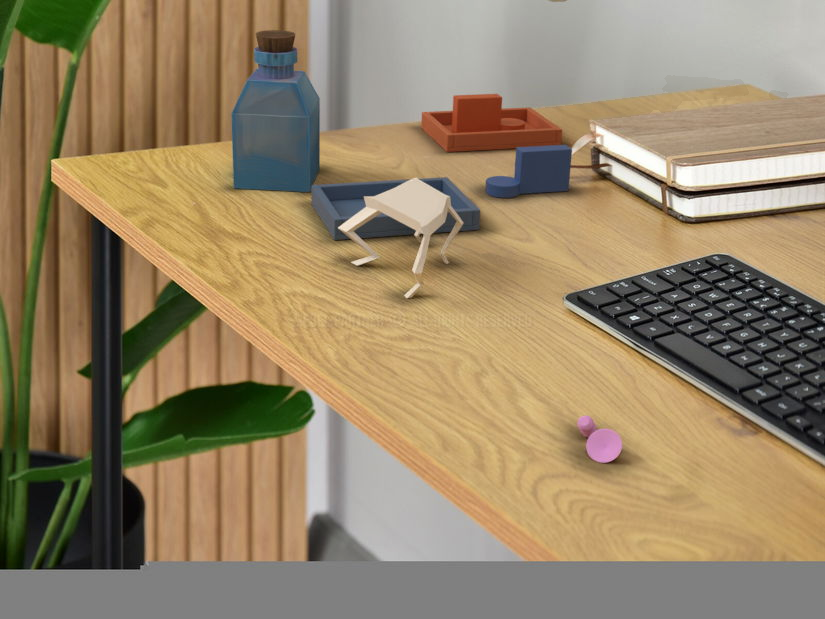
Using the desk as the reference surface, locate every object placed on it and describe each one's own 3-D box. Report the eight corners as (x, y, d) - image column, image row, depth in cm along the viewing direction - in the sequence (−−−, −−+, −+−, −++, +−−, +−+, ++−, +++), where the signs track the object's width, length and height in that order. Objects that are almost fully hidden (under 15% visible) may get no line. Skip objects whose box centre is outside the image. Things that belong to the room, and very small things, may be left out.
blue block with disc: (558, 183, 102) (562, 142, 100) (572, 193, 99) (575, 151, 98) (480, 188, 100) (483, 146, 98) (492, 198, 97) (494, 156, 96)
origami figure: (326, 246, 86) (326, 180, 84) (436, 236, 89) (439, 172, 87) (374, 312, 76) (376, 239, 74) (497, 299, 79) (502, 228, 77)
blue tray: (446, 195, 98) (447, 176, 97) (479, 230, 91) (480, 209, 90) (311, 204, 95) (311, 184, 94) (334, 240, 88) (334, 219, 87)
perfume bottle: (319, 169, 103) (319, 28, 98) (309, 192, 97) (308, 43, 93) (248, 165, 103) (244, 25, 99) (233, 188, 98) (229, 39, 93)
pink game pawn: (606, 479, 62) (634, 458, 62) (600, 469, 60) (629, 447, 60) (571, 436, 63) (599, 416, 63) (565, 426, 62) (593, 404, 62)
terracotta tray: (529, 123, 119) (530, 107, 119) (561, 146, 112) (562, 129, 111) (421, 128, 116) (421, 111, 116) (446, 152, 109) (447, 135, 108)
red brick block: (458, 138, 112) (460, 100, 110) (449, 130, 114) (450, 93, 113) (528, 135, 114) (531, 97, 112) (518, 127, 116) (520, 90, 115)
